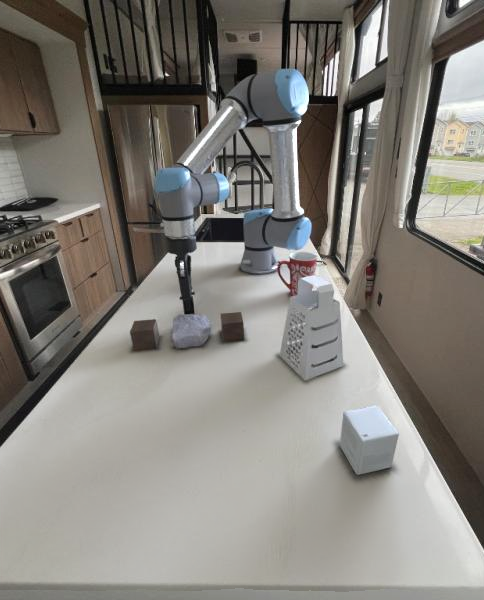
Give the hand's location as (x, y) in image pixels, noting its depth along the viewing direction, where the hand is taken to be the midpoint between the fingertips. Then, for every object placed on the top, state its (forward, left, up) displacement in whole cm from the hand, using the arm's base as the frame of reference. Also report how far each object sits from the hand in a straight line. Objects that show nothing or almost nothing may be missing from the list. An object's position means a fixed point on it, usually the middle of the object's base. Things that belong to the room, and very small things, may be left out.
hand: (190, 318), depth 90 cm
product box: (-29, +48, -2) cm, 56 cm away
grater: (-28, +22, -2) cm, 36 cm away
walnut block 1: (+11, +8, -2) cm, 14 cm away
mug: (-34, -14, -2) cm, 37 cm away
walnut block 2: (-11, +8, -2) cm, 14 cm away
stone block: (-1, +6, -2) cm, 7 cm away
